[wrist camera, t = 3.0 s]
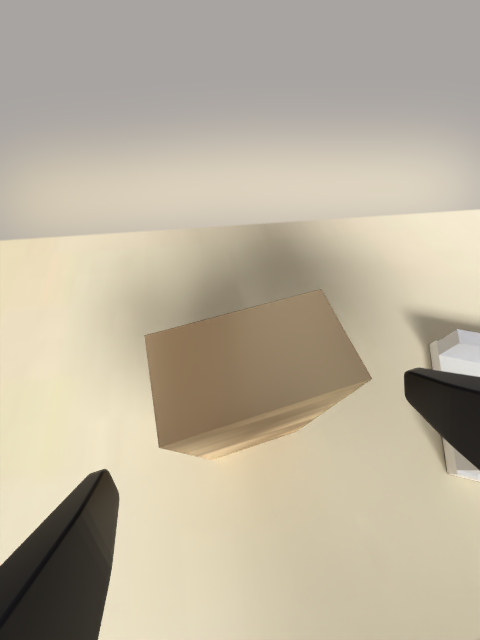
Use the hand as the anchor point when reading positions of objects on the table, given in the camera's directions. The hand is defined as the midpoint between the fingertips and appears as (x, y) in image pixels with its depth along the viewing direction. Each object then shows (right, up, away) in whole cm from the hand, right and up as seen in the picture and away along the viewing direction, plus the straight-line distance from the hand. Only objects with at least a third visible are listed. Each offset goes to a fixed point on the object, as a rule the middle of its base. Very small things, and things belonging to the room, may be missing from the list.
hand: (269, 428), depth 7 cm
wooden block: (0, -3, +9) cm, 10 cm away
